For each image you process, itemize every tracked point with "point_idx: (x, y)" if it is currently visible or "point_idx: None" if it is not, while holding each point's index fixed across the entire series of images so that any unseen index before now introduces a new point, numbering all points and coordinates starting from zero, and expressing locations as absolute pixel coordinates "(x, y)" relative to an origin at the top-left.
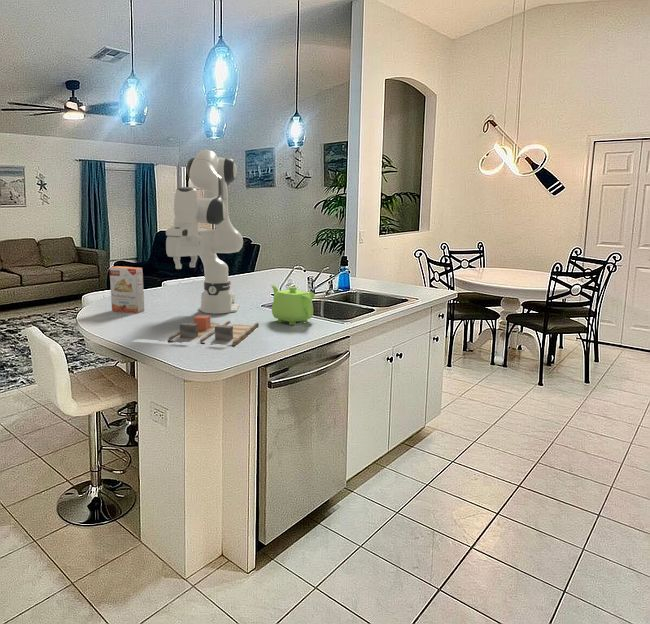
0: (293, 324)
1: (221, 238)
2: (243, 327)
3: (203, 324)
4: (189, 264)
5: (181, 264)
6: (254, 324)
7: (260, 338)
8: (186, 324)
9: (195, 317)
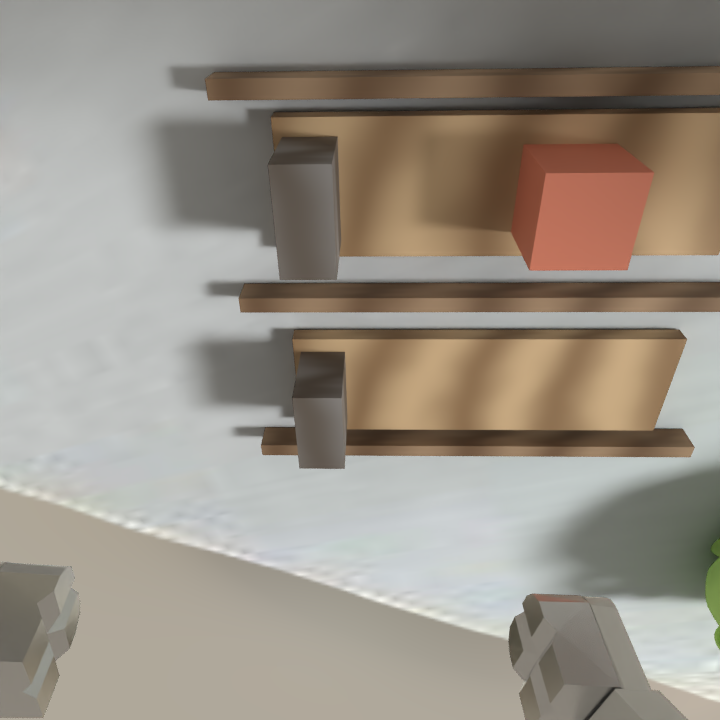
0: (716, 553)
1: None
2: (603, 404)
3: (521, 231)
4: (548, 644)
5: (31, 710)
6: (641, 450)
7: (443, 487)
8: (295, 212)
9: (550, 184)
